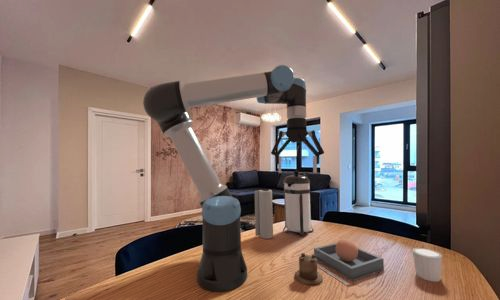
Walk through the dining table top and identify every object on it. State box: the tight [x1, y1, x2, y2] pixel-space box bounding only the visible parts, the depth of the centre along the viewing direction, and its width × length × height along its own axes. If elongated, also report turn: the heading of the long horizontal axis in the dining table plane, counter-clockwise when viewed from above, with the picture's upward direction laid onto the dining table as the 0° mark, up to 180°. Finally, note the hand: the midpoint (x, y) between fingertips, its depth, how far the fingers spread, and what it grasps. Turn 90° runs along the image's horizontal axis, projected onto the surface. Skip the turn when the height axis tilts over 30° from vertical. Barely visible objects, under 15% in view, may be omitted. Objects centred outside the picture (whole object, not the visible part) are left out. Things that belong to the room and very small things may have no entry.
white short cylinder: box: [412, 247, 443, 282], centre depth 63 cm, size 7×7×7 cm
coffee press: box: [282, 169, 314, 238], centre depth 106 cm, size 17×16×30 cm
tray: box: [313, 242, 385, 282], centre depth 72 cm, size 14×16×4 cm
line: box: [317, 263, 351, 286], centre depth 69 cm, size 1×20×1 cm, turn 25°
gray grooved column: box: [254, 189, 274, 240], centre depth 99 cm, size 7×6×21 cm
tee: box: [294, 252, 324, 286], centre depth 64 cm, size 8×8×6 cm
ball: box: [335, 238, 358, 262], centre depth 72 cm, size 7×7×7 cm
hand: (297, 172), depth 83 cm, fingers open, 13 cm apart
